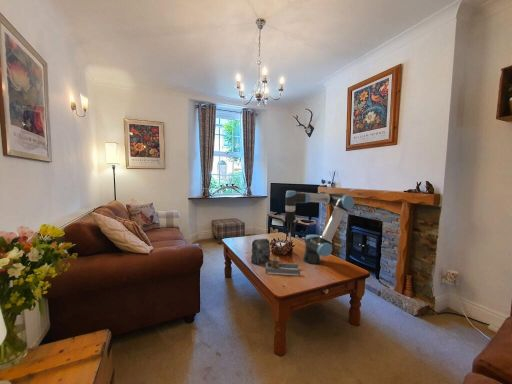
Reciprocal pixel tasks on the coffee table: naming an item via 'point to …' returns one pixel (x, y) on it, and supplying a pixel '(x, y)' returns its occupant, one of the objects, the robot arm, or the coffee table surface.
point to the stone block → (260, 251)
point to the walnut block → (274, 262)
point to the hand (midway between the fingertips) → (289, 240)
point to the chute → (282, 269)
